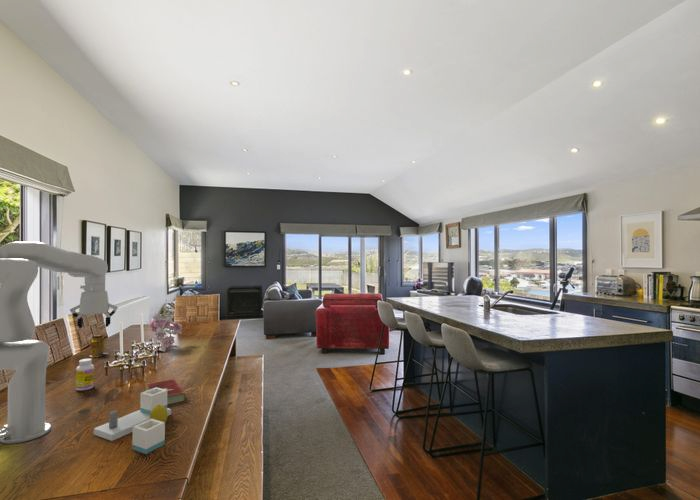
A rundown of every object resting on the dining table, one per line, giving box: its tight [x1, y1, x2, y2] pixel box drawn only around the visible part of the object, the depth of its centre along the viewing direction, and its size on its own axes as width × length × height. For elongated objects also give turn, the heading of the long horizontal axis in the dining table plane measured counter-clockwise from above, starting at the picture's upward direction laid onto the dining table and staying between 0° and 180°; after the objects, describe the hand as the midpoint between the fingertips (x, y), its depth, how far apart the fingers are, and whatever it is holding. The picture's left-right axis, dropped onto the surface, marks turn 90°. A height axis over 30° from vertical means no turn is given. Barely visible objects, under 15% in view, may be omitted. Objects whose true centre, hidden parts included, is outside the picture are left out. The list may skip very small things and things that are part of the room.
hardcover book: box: [144, 378, 186, 405], centre depth 156 cm, size 12×21×4 cm, turn 37°
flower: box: [147, 312, 183, 353], centre depth 232 cm, size 20×22×25 cm
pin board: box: [93, 407, 172, 442], centre depth 130 cm, size 22×10×7 cm, turn 154°
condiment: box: [89, 334, 110, 358], centre depth 218 cm, size 7×8×12 cm
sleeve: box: [131, 419, 166, 455], centre depth 115 cm, size 7×6×7 cm
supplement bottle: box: [75, 358, 95, 392], centre depth 164 cm, size 7×7×13 cm
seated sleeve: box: [139, 387, 168, 415], centre depth 137 cm, size 6×6×7 cm
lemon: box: [150, 405, 168, 423], centre depth 127 cm, size 6×6×8 cm
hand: (94, 327), depth 159 cm, fingers open, 9 cm apart
